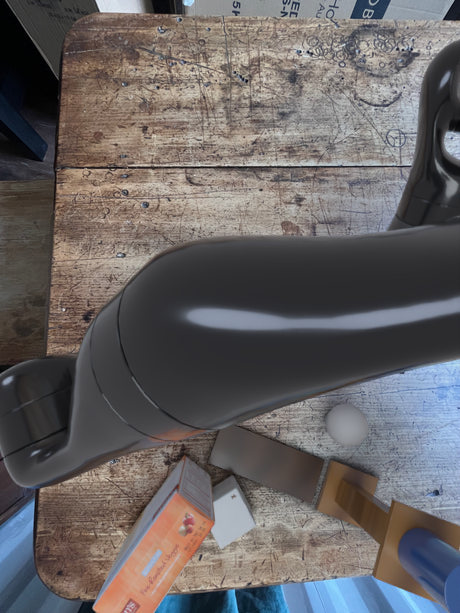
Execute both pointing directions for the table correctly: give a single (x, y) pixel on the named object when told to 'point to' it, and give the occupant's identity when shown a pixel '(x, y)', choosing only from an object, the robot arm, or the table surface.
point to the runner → (267, 462)
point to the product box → (230, 512)
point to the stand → (380, 521)
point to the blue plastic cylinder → (432, 566)
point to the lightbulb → (347, 425)
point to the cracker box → (160, 542)
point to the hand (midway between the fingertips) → (367, 366)
